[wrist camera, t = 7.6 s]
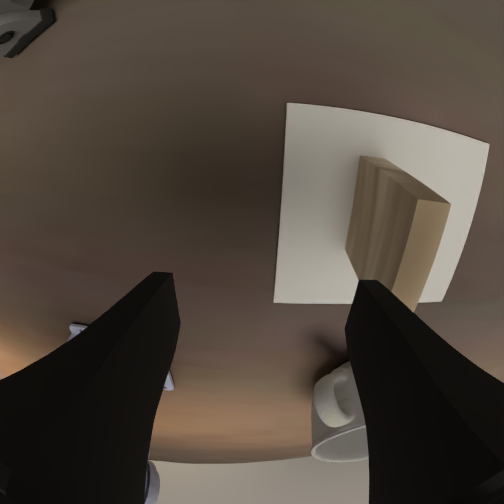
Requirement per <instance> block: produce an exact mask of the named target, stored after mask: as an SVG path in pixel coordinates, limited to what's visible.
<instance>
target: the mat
mask: <svg viewBox="0 0 504 504" xmlns="http://www.w3.org/2000/svg"><path fill="white" fill-rule="evenodd" d="M488 150H489V144H487V143H485V142H482V141H479V140H476V139H473V138H470V137H467V136H464V135H461V134H458V133H454V132H451V131H448V130H444V129H441V128H437V127H433V126H429V125H426V124H422V123H418V122H413V121H409V120H405V119H400V118H396V117H391V116H386V115H381V114H375V113H370V112H364V111H357V110H351V109H344V108H336V107H328V106H320V105H310V104H298V103H287V106H286V127H285V146H284V164H283V180H282V196H281V210H280V225H279V238H278V251H277V264H276V276H275V288H274V299H273V300H274V303H305V304H352V303H353V299H354V296H355V292H356V288H357V285H358V281H359V280H358V278H357V276H356V273H355V271H354V269H353V267H352V264H351V262H350V260H349V258H348V256H347V253H346V251H345V244H346V239H347V234H348V228H349V223H350V217H351V212H352V206H353V200H354V193H355V187H356V180H357V173H358V166H359V158H360V155H362V156H369V157H376V158H383V159H386V160H388V161H390V162H391V163H393V164H394V165H396V166H398V167H399V168H401V169H402V170H404V171H405V172H407V173H408V174H410V175H411V176H413V177H414V178H416V179H417V180H419V181H420V182H422V183H423V184H425V185H426V186H427V187H429V188H430V189H432V190H433V191H434V192H436V193H437V194H439V195H440V196H441V197H443V198H444V199H445V200H447V201H448V202H449V203H451V207H450V211H449V215H448V218H447V222H446V225H445V229H444V232H443V235H442V238H441V242H440V245H439V248H438V251H437V254H436V257H435V260H434V262H433V265H432V268H431V271H430V273H429V276H428V279H427V281H426V284H425V286H424V289H423V292H422V294H421V296H420V299H419V301H418V303H419V302H442V300H443V297H444V295H445V293H446V291H447V288H448V286H449V284H450V281H451V279H452V276H453V274H454V271H455V269H456V266H457V264H458V261H459V258H460V255H461V253H462V250H463V247H464V244H465V241H466V238H467V235H468V232H469V229H470V226H471V222H472V219H473V216H474V212H475V209H476V205H477V201H478V197H479V193H480V189H481V185H482V181H483V176H484V172H485V167H486V161H487V156H488Z"/></svg>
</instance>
